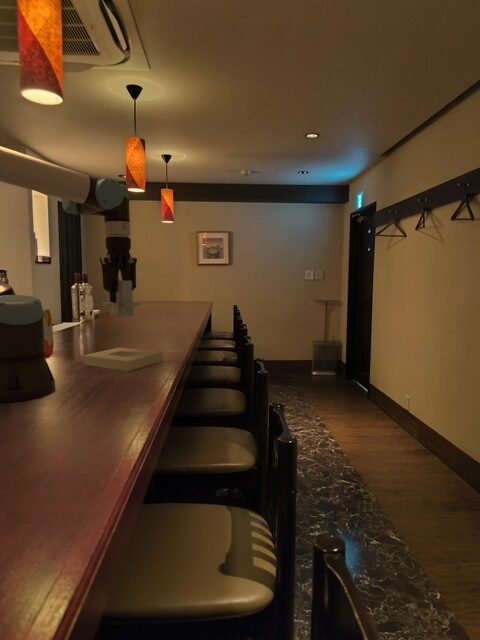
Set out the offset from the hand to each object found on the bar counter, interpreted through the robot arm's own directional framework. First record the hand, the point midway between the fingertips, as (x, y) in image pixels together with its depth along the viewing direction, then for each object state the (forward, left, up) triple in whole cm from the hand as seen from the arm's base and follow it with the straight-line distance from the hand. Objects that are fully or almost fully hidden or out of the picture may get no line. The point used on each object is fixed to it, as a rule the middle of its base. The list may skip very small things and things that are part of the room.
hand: (121, 312), depth 133 cm
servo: (0, 0, -1) cm, 1 cm away
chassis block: (0, 0, -16) cm, 16 cm away
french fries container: (-4, +34, -17) cm, 38 cm away
